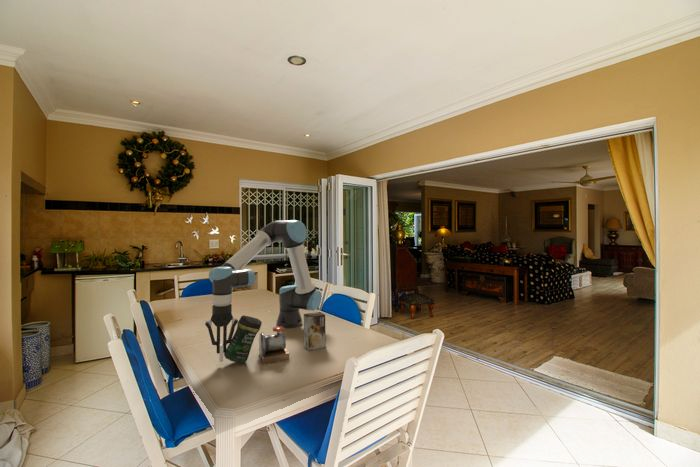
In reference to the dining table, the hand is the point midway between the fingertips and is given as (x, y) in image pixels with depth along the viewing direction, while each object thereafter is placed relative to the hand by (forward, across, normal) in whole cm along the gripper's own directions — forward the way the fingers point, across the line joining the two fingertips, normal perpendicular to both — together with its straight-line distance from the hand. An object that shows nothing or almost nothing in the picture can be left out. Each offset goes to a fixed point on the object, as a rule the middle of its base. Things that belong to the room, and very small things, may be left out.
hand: (221, 360), depth 132 cm
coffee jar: (+1, -5, 0) cm, 5 cm away
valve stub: (+2, -21, 0) cm, 21 cm away
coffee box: (+2, -42, -4) cm, 43 cm away
